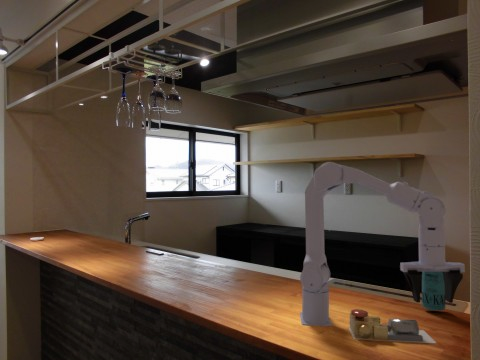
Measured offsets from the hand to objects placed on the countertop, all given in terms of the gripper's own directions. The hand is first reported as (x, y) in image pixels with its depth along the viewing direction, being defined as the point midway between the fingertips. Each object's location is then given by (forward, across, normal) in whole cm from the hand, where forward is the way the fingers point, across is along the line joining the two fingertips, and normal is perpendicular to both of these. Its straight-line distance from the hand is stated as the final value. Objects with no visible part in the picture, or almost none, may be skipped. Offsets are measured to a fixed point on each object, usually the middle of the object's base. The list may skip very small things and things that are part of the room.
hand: (432, 301), depth 89 cm
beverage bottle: (+10, +10, +21) cm, 25 cm away
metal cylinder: (+9, -7, +2) cm, 11 cm away
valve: (+9, -15, +3) cm, 18 cm away
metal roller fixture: (+9, -10, +2) cm, 14 cm away
